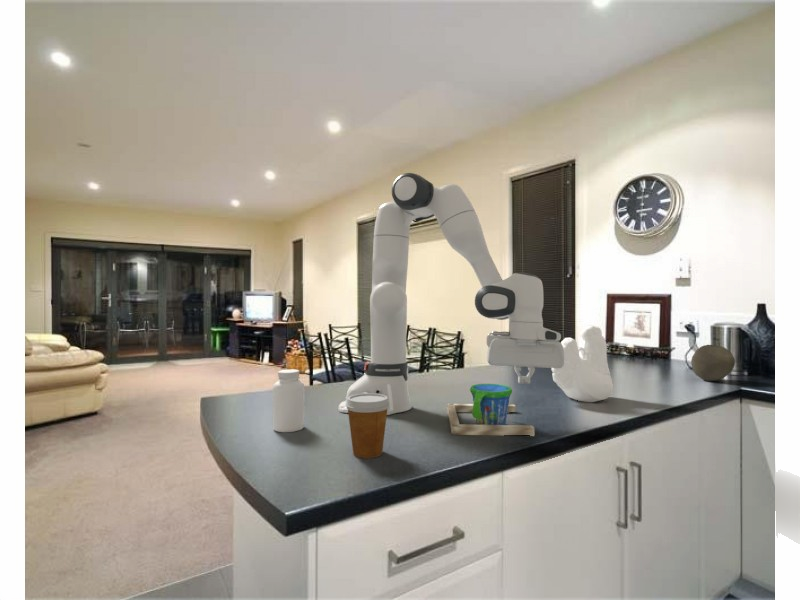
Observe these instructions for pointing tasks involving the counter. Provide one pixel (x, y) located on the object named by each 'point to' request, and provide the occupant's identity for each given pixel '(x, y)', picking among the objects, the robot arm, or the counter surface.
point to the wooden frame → (484, 429)
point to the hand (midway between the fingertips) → (524, 383)
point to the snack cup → (490, 403)
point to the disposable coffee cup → (367, 423)
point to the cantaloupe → (712, 362)
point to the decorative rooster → (585, 367)
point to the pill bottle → (288, 402)
